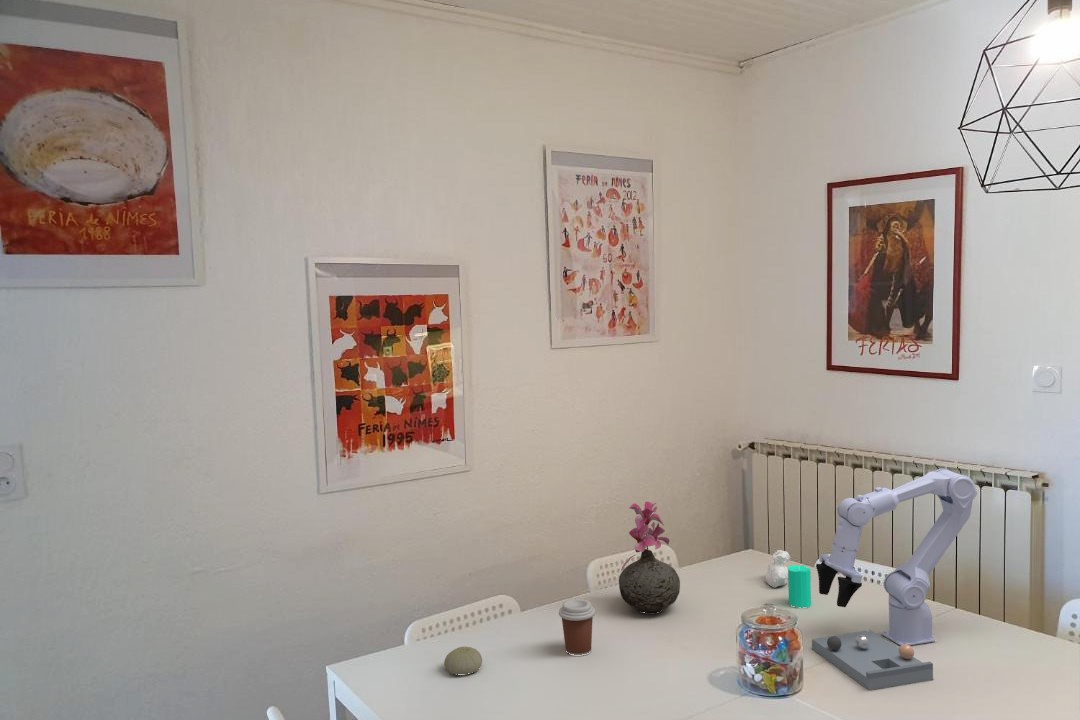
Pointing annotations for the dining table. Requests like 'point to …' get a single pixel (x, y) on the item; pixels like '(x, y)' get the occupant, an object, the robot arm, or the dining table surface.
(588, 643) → the coffee cup
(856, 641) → the steel ball
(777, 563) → the bust
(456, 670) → the sea urchin shell
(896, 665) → the board
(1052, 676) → the dining table surface
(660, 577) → the vase
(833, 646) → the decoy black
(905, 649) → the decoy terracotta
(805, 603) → the candle
